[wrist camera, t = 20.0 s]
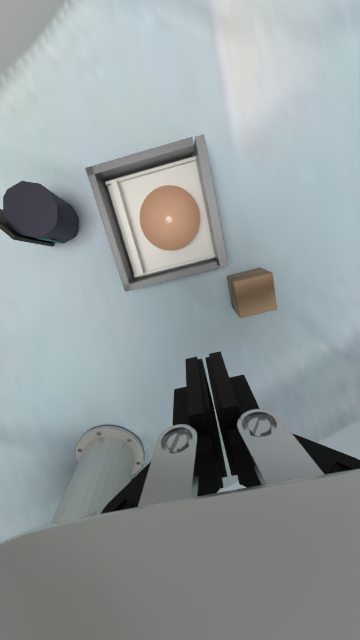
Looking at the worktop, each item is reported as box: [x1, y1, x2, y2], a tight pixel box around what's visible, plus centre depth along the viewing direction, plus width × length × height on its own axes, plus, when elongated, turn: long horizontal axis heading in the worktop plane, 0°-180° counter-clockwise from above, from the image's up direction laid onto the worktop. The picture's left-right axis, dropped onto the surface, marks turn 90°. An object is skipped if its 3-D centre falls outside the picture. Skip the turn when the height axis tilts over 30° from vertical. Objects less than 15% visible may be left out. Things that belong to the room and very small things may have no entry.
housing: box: [85, 137, 218, 291], centre depth 33 cm, size 12×15×5 cm
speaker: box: [0, 181, 78, 247], centre depth 30 cm, size 8×6×10 cm
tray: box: [105, 134, 228, 277], centre depth 32 cm, size 13×14×5 cm
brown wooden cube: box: [227, 268, 277, 318], centre depth 35 cm, size 5×5×5 cm
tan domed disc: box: [140, 185, 200, 250], centre depth 32 cm, size 8×8×2 cm
